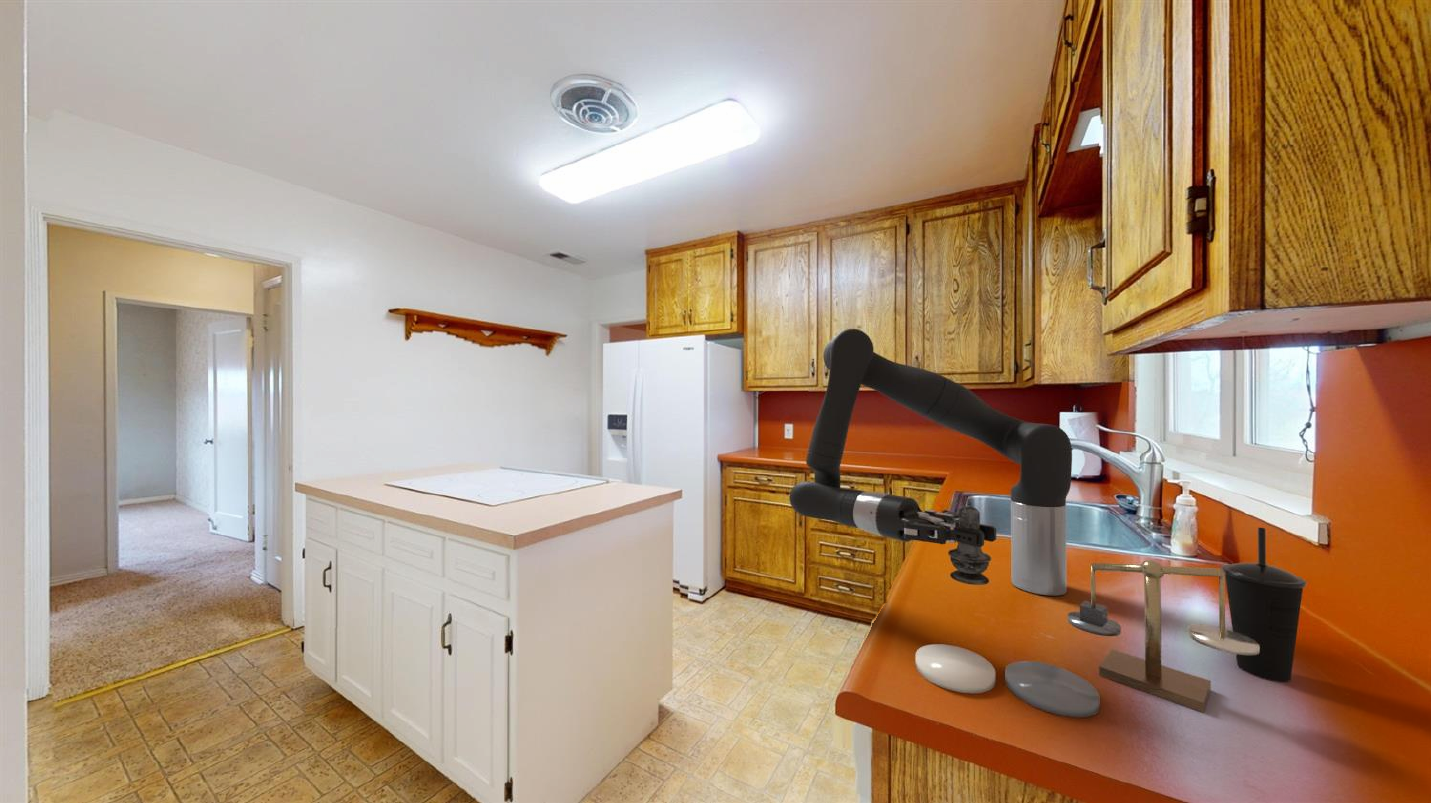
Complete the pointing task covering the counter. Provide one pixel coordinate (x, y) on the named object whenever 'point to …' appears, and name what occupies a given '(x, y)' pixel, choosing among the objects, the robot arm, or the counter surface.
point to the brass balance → (1159, 637)
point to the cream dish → (955, 668)
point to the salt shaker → (969, 552)
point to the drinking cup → (1265, 613)
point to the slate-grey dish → (1052, 689)
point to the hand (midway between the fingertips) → (988, 537)
